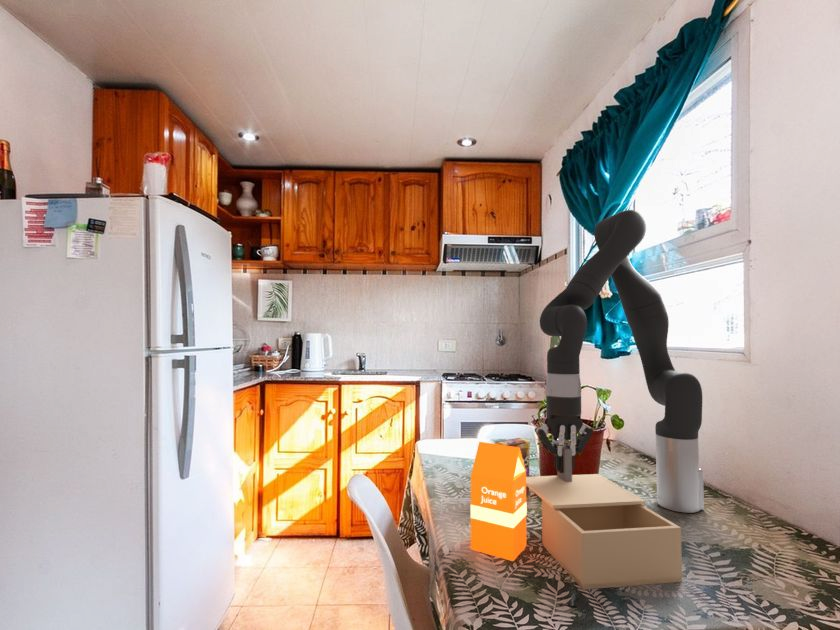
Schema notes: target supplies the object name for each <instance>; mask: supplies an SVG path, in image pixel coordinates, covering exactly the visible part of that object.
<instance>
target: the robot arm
mask: <svg viewBox="0 0 840 630" xmlns="http://www.w3.org/2000/svg"><path fill="white" fill-rule="evenodd" d="M593 233H594V234H593V236H594V240H595V244H596V246H597V248H598V251H597V252H595V253H594V254H593V255H592V256H591V257H590V258H588V259H587V260H586V262H584V263H583V264H582V266H581V267H580V268H579V269H577V271H576V272H575V274H574V275H573V276H572V278H571V280H569V282H568V284H567V285H566V287H565V289H563V290H562V291H561V292H560V293H558V294H557V295H556V296H555V297H554V298H553V299H552V300H551V301H550V302H549V303H548V304H547V305H546V306H545V307H544V308H543V310H542V312H541V315H540V316H539V317H540V318H539V327H540V330H541V331H542V333H544V334H545V335H547V336H549V337H560V339H559V340H560V341H559V343H558V345H556V346H553V347H551V348H549V349H548V351H547V353H546V367H547V368H546V380H545V381H546V382H545V394H546V395H545V396H546V397H545V399H546V400H545V401H546V403H545V404H546V405H545V407H546V408H545V409H546V411H545V413H546V417H545V420H544V424H543V425H541V426H540V427H536V428H534V432H535V434H536V435H537V437H538V439H539V440H540V442H541V444H542V445H543V447H544V450H546V452H549V453H550V454H553V463H554V464H553V467H554V469H555V470H556V472H557V471H558V472H559V473H563V472H564V467H563V456H562V454H563V445H564V446H566V447H568V448H570V449H572V473H574V472H573V471H574V470H575V468H576V466H575V464H576V463H575V458H576V457H575V456H576V454H579V453H583V451H584V450H585V447H586V446H587V444H588V443H589V440H590V439H591V436H592V435H593V434H594V429H593V428H592V427H588V426H586V425H585V424H584V422H583V420H582V416H581V415H582V383H581V382H582V381H581V377H580V376H581V375H580V374H581V373H580V370H581V369H580V354H581V351H582V348H583V344H584V340H585V335H586V331H587V328H588V320H587V319H588V317H587V315H586V313H585V311H584V310H586V309H588V308H589V307H591V306H592V305H593V304H594V302H595V301H596V299H597V297H598V296H599V293H600V292H601V291H602V290H603V287H604V286H605V285H606V283H607V281H608V280H610V279H609V278H611V279H612V281H613V284H614V287H615V289H616V292H617V295H618V297H619V301H620V303H621V307H622V310H623V312H624V316H625V319H626V321H627V323H628V326H629V329H630V331H631V333H632V337H633V340H634V343H635V346H636V349H637V351H638V354H639V355H638V356H639V358H640V360H641V361H640V362H641V365H642V369H643V373H644V378H645V382H646V386H647V389H648V392H649V395H650V396H651V397H650V398H651V399H653V401H655V402H656V403H657V404H659V405H662V406H664V417H663V419H662V420H658V421H656V423H655V425H654V427H655V429H654V431H655V457H656V458H655V459H656V460H655V463H656V464H655V465H656V467H655V468H656V503H657V504H658V506H660V507H662V508H664V509H667V510H669V511H673V512H679V513H685V514H687V513H689V514H694V513H698V512H700V511H702V510H705V496H704V492H705V491H704V470H703V469H702V468H700V454H699V453H700V452H699V450H700V449H699V431H700V429H701V427H702V423H703V388H702V386H701V383H700V381H699V379H698V378H697V377H696V376H695V375H693V374H692V373H690V372H686V371H678V370H676V369H675V367H674V365H673V363H672V360H671V357H670V354H669V352H668V334H669V324H670V323H669V315H668V312H667V309H666V305H665V303H664V301H663V298H662V296H661V293H660V291H658V289H657V288H656V287H655V286H654V285H653V284H652V283H651V282H650V281H649V280H648V279H647V278H645V277H644V276H643V275H642V274H640V273H639V272H638V271H637V270H636V269H635V267H634V266H633V264H632V262H631V260H630V258H629V254H631V253H632V251H633V250H634V249H636V247H637V246H638V245H639V244H641V242H642V241H643V239H644V238H645V236H646V233H647V224H646V221H645V219H644V216H643V215H642V214H640V212H638V211H636V210H634V209H626V210H625V209H624V210H623V211H619V212H617V213H615V214H612V215H611V216H608V217H606V218H604V219H602V220H601V221H599V222H597V223H596V225H595V226H594V231H593ZM549 433H550V434H551V436H552V437H551V440H550V439H549V437H548V435H549ZM578 433H579V434H578ZM577 435H578V436H577ZM576 436H577V437H576Z"/></svg>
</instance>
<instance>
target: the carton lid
mask: <svg viewBox="0 0 840 630" xmlns="http://www.w3.org/2000/svg"><path fill="white" fill-rule="evenodd" d="M562 456H563V467H564V472H563V473H559V472H558V471H557V470H556V472H557V475H540V476H539V475H538V476H537V475H535V476H529V477H526V486H527V487H529V490H531V491H532V492H533V493H535V495H537V496H538V497H539V498H540V499H541V501H542V500H544V501H545V502H546V503H547V504H548V505H549V506H550V507H552V508H553V509H556V508H576V507H596V506H616V505H636V504H641V505H646V504H647V501H646V500H645V499H643V498H642V497H640V496H638V495H636V494H634V493H632V492H631V491H629V490H628V489H625V488H623V487H622V486H621V485H618V484H617V483H615V482H613V481H611V480H609V479H608V478H606V477H604V476H602V475H601V474H599V473H593V474H592V473H590V474H586V473H585V474H573V472H572V449H570V448H568V447H566V446H565V444H564V445H563V454H562Z"/></svg>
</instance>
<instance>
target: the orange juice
mask: <svg viewBox="0 0 840 630" xmlns="http://www.w3.org/2000/svg"><path fill="white" fill-rule="evenodd" d="M527 506H528V505H527V501H526V470H525V466H524V462H523V459H522V455H521V451H520V448H519V447H513V446H505V445H498V444H495V443H490V442H482V441H479V442H478V445H477V451H476V454H475V458H474V462H473V467H472V470H471V473H470V550H473V551H476V552H479V553H483V554H486V555H490V556H493V557H496V558H500V559H504V560H507V561H511V562H514V561H515V560H516V559H517V558H518V556H519V555H520V554H521V553H522V552H523V550H524V549H525V548H526V547H527V514H528V513H527V512H528V511H527Z"/></svg>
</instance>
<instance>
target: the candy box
mask: <svg viewBox="0 0 840 630" xmlns="http://www.w3.org/2000/svg"><path fill="white" fill-rule="evenodd" d="M494 444H498V445H505V446H513V447H519V448H520V451H521V455H522V459H523V462H524V466H525V470H526V477H530V448H531V447H530V446H531V445H530V440H528V439H526V438H520V437H517V438H511V439H505V440H499V441H498V440H496V441H494ZM529 500H530V488H529V487H527V486H526V502H528V501H529Z"/></svg>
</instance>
